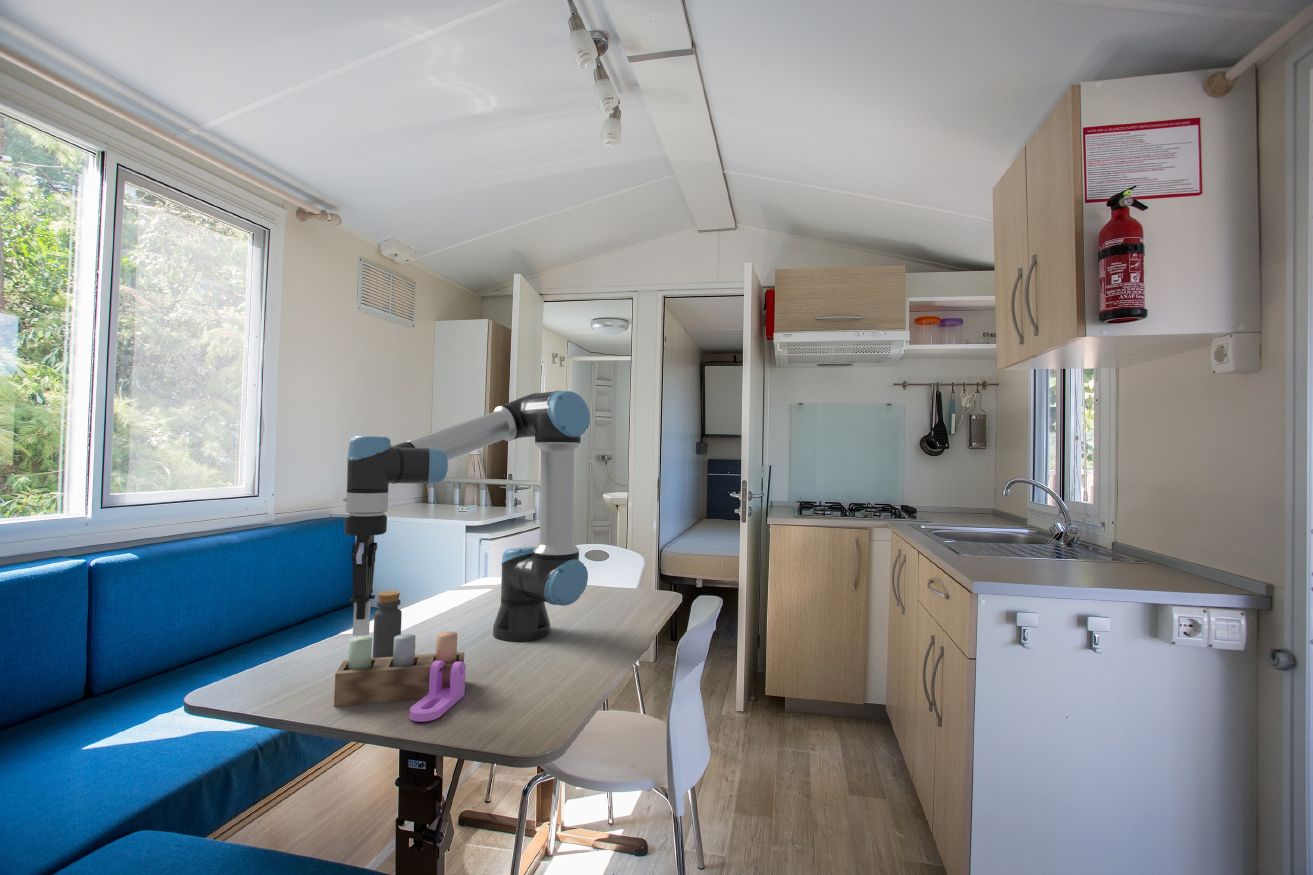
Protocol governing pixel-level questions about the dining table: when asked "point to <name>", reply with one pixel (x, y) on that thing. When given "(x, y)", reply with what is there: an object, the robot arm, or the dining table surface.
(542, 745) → the dining table surface
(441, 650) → the brown egg
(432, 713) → the bracket
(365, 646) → the green rounded cylinder
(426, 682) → the walnut rack
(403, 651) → the grey rounded cylinder
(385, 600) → the bottle
